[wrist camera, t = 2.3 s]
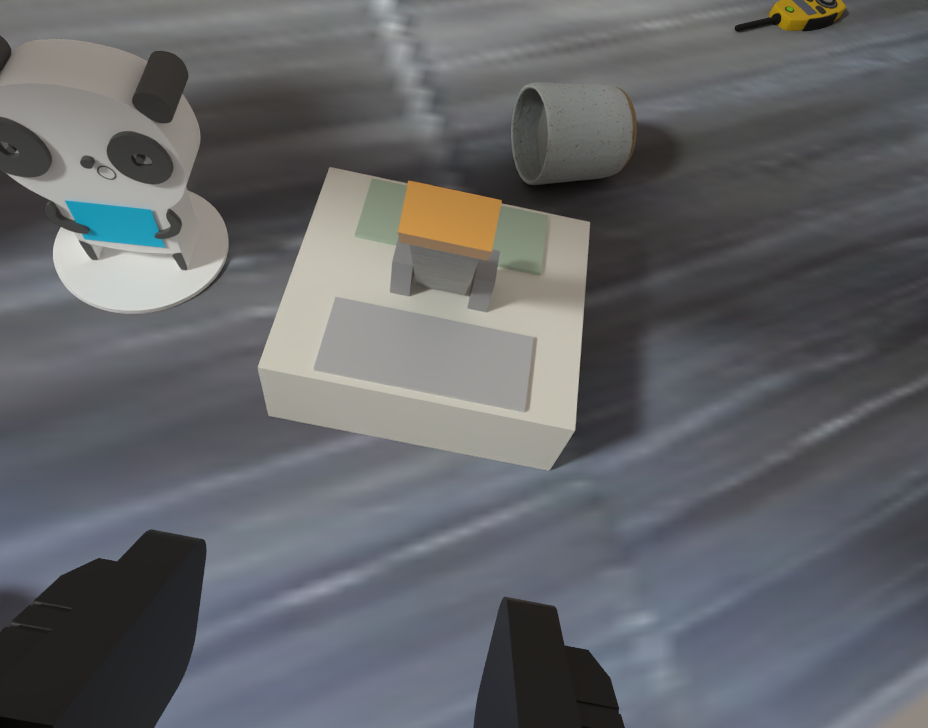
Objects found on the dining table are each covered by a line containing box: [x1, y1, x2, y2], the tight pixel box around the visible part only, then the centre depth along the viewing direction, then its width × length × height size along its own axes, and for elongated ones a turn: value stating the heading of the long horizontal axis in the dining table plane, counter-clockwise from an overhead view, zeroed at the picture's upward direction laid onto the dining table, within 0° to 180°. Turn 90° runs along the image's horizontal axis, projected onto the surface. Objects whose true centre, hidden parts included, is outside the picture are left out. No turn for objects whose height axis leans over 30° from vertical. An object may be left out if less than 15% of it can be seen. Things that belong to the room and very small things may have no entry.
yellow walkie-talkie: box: [735, 0, 846, 31], centre depth 75 cm, size 5×2×15 cm
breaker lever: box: [398, 180, 502, 295], centre depth 35 cm, size 2×4×17 cm, turn 81°
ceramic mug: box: [511, 83, 637, 185], centre depth 56 cm, size 11×8×8 cm
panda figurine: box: [0, 36, 229, 314], centre depth 43 cm, size 12×11×15 cm
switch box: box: [258, 167, 590, 471], centre depth 44 cm, size 16×18×9 cm
